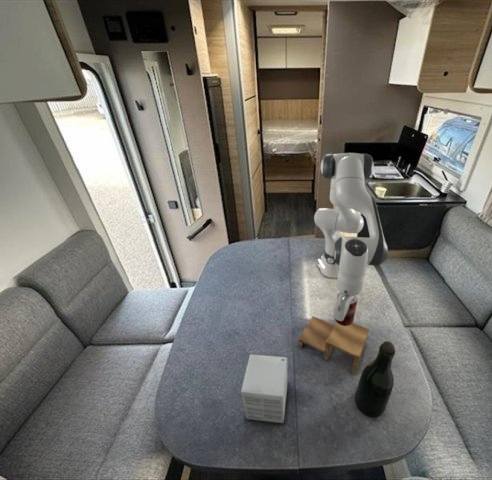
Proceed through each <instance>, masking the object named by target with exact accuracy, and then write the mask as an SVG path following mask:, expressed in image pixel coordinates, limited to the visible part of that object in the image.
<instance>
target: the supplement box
mask: <svg viewBox="0 0 492 480" xmlns="http://www.w3.org/2000/svg"><path fill="white" fill-rule="evenodd" d="M247 361H248V362H247V366H246V370H245V374H244V378H243V382H242V385H241V389H240V390H241V391H240V393H241V398H242V403H243V408H244V413H245V419H247V420H253V421H262V422H271V423H277V424H278V423H280V424H284V421H285V411H286V403H287V395H288V394H287V393H288V386H289V385H288V380H289V379H288V357H285V356H273V355H263V354H262V355H261V354H249V358H248V360H247Z"/></svg>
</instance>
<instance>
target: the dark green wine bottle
mask: <svg viewBox="0 0 492 480" xmlns="http://www.w3.org/2000/svg"><path fill="white" fill-rule="evenodd" d="M395 355H396V349H395V345H394V344H393V342H392V341H389V340H385V341H383V342H382V343H381V344H380V345H379V348H378V352H377V354H376V357H375V358H374V359H373V360H371V361H370V362H368V363H367V364H366V365H365V367H364V368H363V369H362V372H361V373H360V378H359V380H358V384H357V388H356V391H355V394H354V402H355V403H354V404H355V405H356V408H357V409H358V411H359V412H360V413H361V414H362V415H364V416H365V417H367V418H371V419H377V418H379V417H381V416H383V414H384V413H385V411H386V409H387V406H388V403H389V401H390V398H391V396H392V392H393V389H394V384H395V383H394V374H393V370H392V363H393V359H394V357H395Z"/></svg>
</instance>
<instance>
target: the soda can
mask: <svg viewBox="0 0 492 480" xmlns="http://www.w3.org/2000/svg"><path fill="white" fill-rule="evenodd" d="M340 293H341V292H340V291H339V292H338V294H337V295H336V300H337V299H338V297H339V295H340ZM357 296H358V295H355V296H353V299H352V301H351V303H350V305H349V309H348V311H347V313H346V315H345V318H344V320H343V321H339V320H336V319H334V321H335V323H336V322H337V323H338V324H340V325H342V326H349V325H351V324H352V323H354V320H355V314H356V311H357V310H356V309H357V306H358V297H357Z"/></svg>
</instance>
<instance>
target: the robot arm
mask: <svg viewBox="0 0 492 480" xmlns="http://www.w3.org/2000/svg"><path fill="white" fill-rule="evenodd" d="M374 167H375V164H374V159H373V157H372V155H371V154H368V153H359V152H342V153H341V152H340V153H327V154H325V155H323V156H322V160H321V161H320V173H321V176H323V178H325V179H327V180H330V188H329V201H330V203H331V205H333V206H334V207H335V208H331V207H320V208H318V209H317V210H316V212H314V216H313V221H314V224H315V225H316V227H318V228H319V229H320V231H321V232H322V234H323V236H324V240H325V241H324V243H325V244H324V250H323V254H322V255H321V256H320V259H318V263H317V267H318V269H319V270H320V272H321V274H322V275H323V276H325V277H328V278H331V279H336V289H337V290H338V291H339V293H340V292H341V293H340V295H339V297H338V299H337V298H336V300H335V304H334V307H333V313H332V317H333V319H334V320H335V319H336V320H339V321H343V320H344V318H345V315H346V313H347V311H348V309H349V305H350V303H351V301H352V299H353V296H355V295H356V296H359V295H360V294H361V293H362V291H363V287H364V282H365V276H366V272H367V267H368V266H374V267H379V266H381V265H382V264H384V263H385V262H386V261H387V259H388V256H389V250H388V245H387V242H386V241H387V240H386V238H385V236H384V232H383V227H382V223H381V219H380V215H379V211H378V206H377V203H376V199H375V198H374V197H373V196H372V195H370V193H369V192H368V191H367V188H366V184H365V183H366V181H365V179H368V178H370V177H371V176H372V173H373V172H374ZM363 216H364V217H363ZM364 218H365V219H364ZM364 220H366V224H367V230H368V233H369V234H368V235H369V237H361V236H360V237H359V236H345V235H343V234H342V233H346V234H359V233H360V232H361V231H362V230H363V228H364V226H365V221H364Z"/></svg>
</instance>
